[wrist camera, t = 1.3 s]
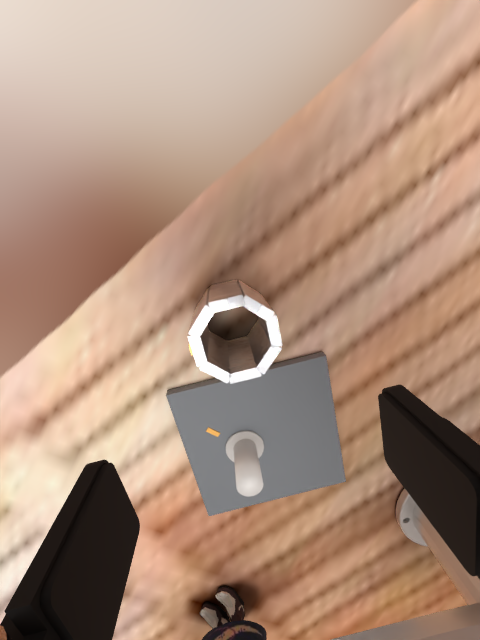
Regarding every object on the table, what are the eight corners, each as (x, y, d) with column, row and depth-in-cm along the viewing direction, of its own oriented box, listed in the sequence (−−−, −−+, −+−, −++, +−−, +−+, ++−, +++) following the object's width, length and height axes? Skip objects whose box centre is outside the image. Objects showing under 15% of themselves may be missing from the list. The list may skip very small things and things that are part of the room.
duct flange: (322, 351, 29) (348, 380, 24) (342, 474, 34) (367, 523, 28) (167, 390, 29) (156, 428, 23) (209, 508, 34) (207, 564, 28)
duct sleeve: (257, 273, 27) (270, 287, 20) (270, 337, 28) (287, 369, 22) (186, 291, 27) (176, 310, 20) (205, 354, 28) (201, 391, 22)
